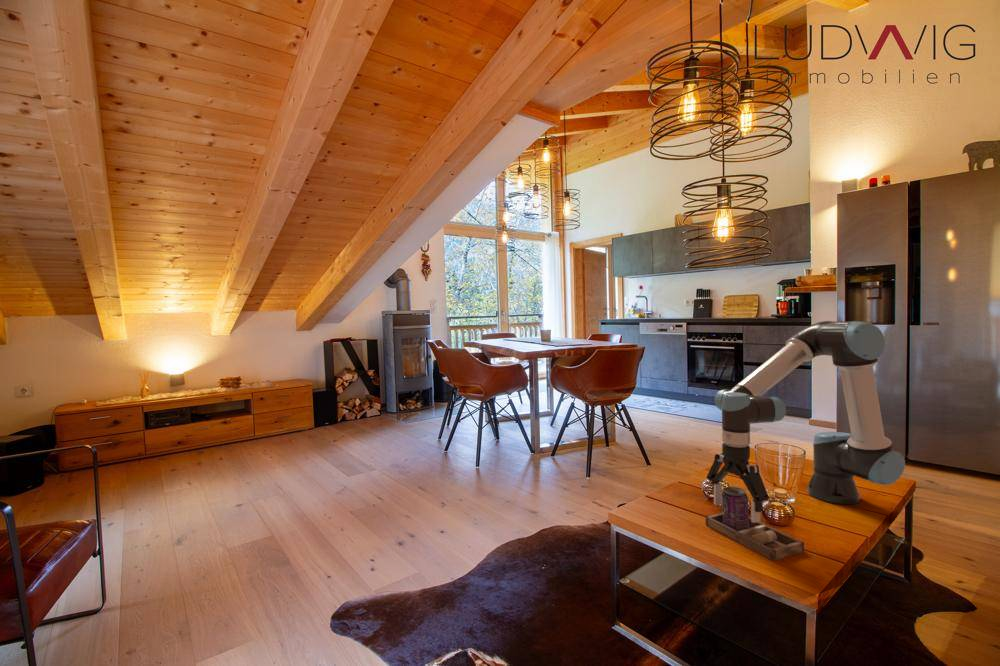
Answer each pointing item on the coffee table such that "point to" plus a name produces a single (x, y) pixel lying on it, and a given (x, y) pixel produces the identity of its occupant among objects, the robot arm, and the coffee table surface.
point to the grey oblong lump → (765, 537)
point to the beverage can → (735, 508)
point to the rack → (771, 550)
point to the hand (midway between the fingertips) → (735, 512)
